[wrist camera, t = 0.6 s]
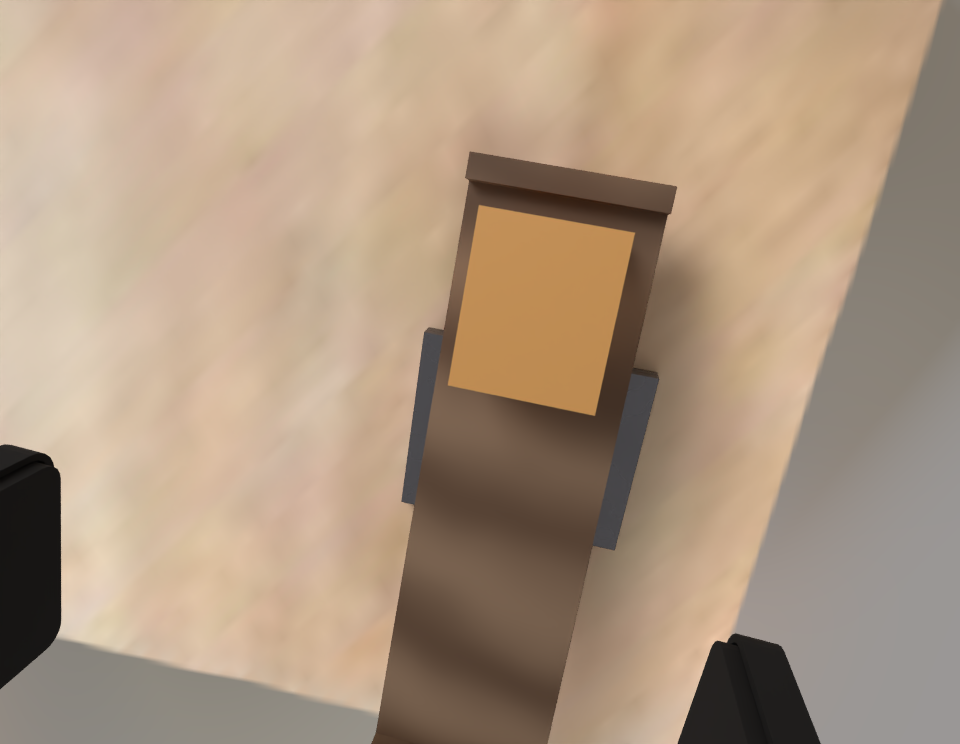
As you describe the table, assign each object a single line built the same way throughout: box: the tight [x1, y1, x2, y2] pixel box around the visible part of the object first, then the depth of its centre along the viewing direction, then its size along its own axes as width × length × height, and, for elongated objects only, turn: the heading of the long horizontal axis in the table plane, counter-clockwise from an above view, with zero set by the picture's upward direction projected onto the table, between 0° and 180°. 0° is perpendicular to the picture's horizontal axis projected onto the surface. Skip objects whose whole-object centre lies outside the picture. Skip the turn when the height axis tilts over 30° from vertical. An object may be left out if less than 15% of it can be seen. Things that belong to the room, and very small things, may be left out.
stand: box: [401, 328, 659, 550], centre depth 35 cm, size 18×12×6 cm, turn 171°
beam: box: [371, 152, 677, 744], centre depth 30 cm, size 28×8×2 cm, turn 171°
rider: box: [448, 205, 635, 416], centre depth 25 cm, size 6×5×6 cm
